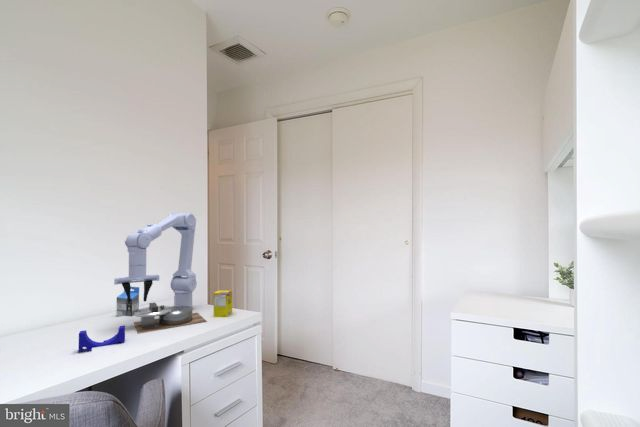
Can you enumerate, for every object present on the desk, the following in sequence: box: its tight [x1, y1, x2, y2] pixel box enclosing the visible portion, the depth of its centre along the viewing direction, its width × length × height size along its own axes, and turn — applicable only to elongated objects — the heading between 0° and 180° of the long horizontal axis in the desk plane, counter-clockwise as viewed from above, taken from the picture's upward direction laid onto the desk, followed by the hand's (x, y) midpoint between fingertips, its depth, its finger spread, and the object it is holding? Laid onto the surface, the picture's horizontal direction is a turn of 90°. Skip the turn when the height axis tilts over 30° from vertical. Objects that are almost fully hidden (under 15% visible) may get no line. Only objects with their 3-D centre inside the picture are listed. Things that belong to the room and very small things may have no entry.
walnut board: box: [133, 312, 208, 335], centre depth 128 cm, size 16×24×1 cm, turn 124°
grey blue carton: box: [116, 286, 140, 318], centre depth 140 cm, size 9×4×12 cm, turn 71°
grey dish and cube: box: [140, 305, 193, 328], centre depth 127 cm, size 12×18×4 cm, turn 124°
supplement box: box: [213, 289, 233, 318], centre depth 138 cm, size 6×6×11 cm
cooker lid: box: [134, 302, 172, 318], centre depth 125 cm, size 13×13×3 cm
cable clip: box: [78, 325, 126, 354], centre depth 105 cm, size 12×4×6 cm, turn 118°
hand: (137, 301), depth 122 cm, fingers open, 4 cm apart
